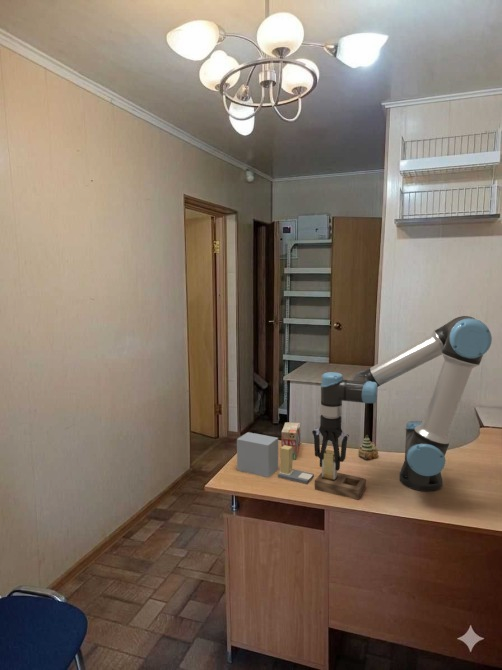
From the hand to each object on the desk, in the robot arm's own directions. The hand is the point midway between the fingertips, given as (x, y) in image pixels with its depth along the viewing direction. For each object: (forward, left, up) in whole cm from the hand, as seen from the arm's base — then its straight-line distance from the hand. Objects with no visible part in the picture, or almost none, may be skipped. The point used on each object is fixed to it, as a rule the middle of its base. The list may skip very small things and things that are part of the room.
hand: (329, 476), depth 160 cm
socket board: (-4, 0, -4) cm, 6 cm away
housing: (+30, 0, -4) cm, 30 cm away
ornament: (-6, -33, -4) cm, 34 cm away
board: (+14, -1, -4) cm, 14 cm away
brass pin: (0, 0, -1) cm, 1 cm away
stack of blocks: (+26, -25, -4) cm, 36 cm away
